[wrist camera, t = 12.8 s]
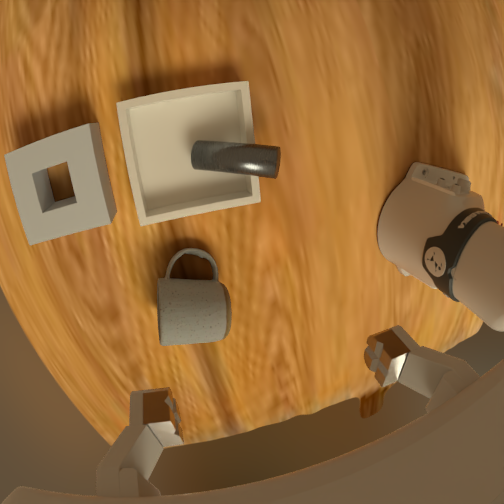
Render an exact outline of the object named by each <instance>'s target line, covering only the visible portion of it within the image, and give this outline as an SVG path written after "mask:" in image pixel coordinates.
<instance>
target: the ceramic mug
mask: <svg viewBox="0 0 504 504" xmlns="http://www.w3.org/2000/svg"><path fill="white" fill-rule="evenodd" d="M183 254H193V255H197V256H199V257H200V258H206V259H208V260H209V262H210V263H211V267H212V272H213V279H212V280H191V279H177V278H170V272H171V269H172V267H173V264H174V263H175V261H176V260H177V259H178V258H179V257H181V256H182V255H183ZM231 313H232V312H231V301H230V296H229V293H228V290H227V288H226V287H225V285H224V284H222V283H220V282H219V281H218V268H217V265H216V262H215V261H214V259H213V258H212V256H211V255H210V254H208V253H207V252H206V251H204V250H200V249H197V248H186V249H183V250H180V251H178V252H177V253H176V254H175V255H174V256H173V257H172V259H171V260H170V262H169V264H168V267H167V271H166V276H165V278H159V279H158V284H157V314H158V330H159V340H160V344H161V345H162V346H167V345H181V344H194V343H206V342H214V341H218V340H222V339H224V338H226V336H227V335H228V334H229V331H230V328H231Z"/></svg>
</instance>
